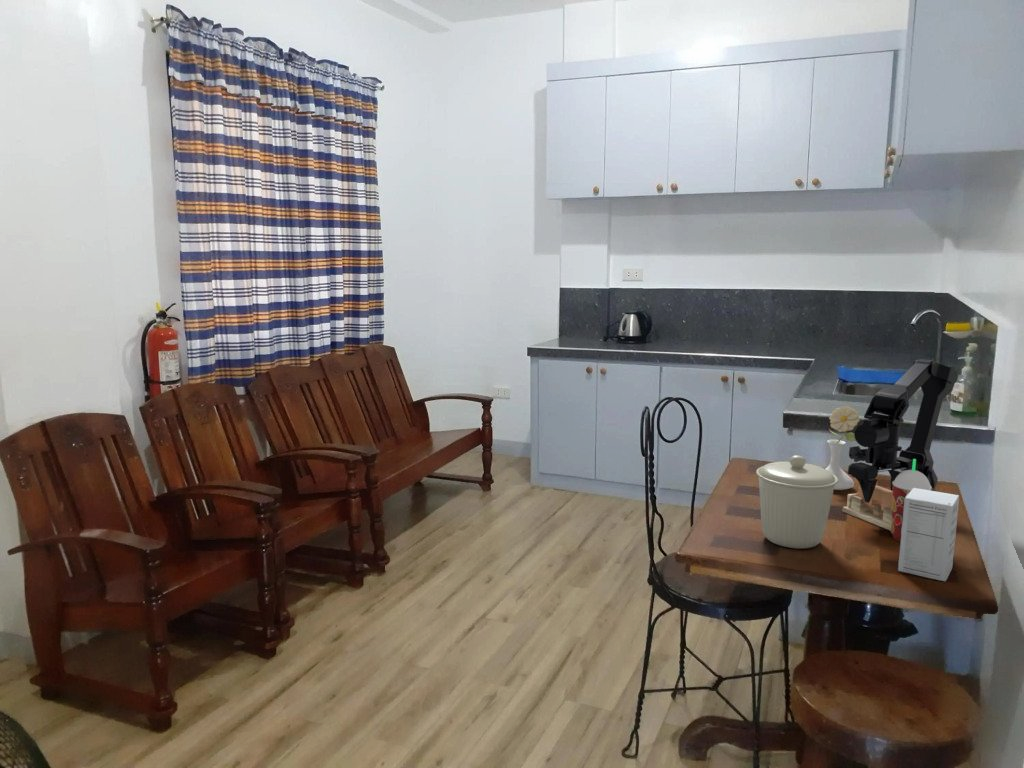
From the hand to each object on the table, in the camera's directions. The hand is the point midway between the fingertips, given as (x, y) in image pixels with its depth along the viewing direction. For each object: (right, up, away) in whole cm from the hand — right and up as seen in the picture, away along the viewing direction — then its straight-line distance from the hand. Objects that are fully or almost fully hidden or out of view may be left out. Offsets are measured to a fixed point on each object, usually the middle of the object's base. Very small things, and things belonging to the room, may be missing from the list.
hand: (880, 499), depth 195 cm
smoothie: (0, -8, -13) cm, 15 cm away
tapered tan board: (0, -2, 0) cm, 2 cm away
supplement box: (-5, -11, -30) cm, 32 cm away
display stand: (0, -5, +1) cm, 5 cm away
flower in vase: (0, -1, +27) cm, 27 cm away
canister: (-28, -8, -14) cm, 33 cm away
